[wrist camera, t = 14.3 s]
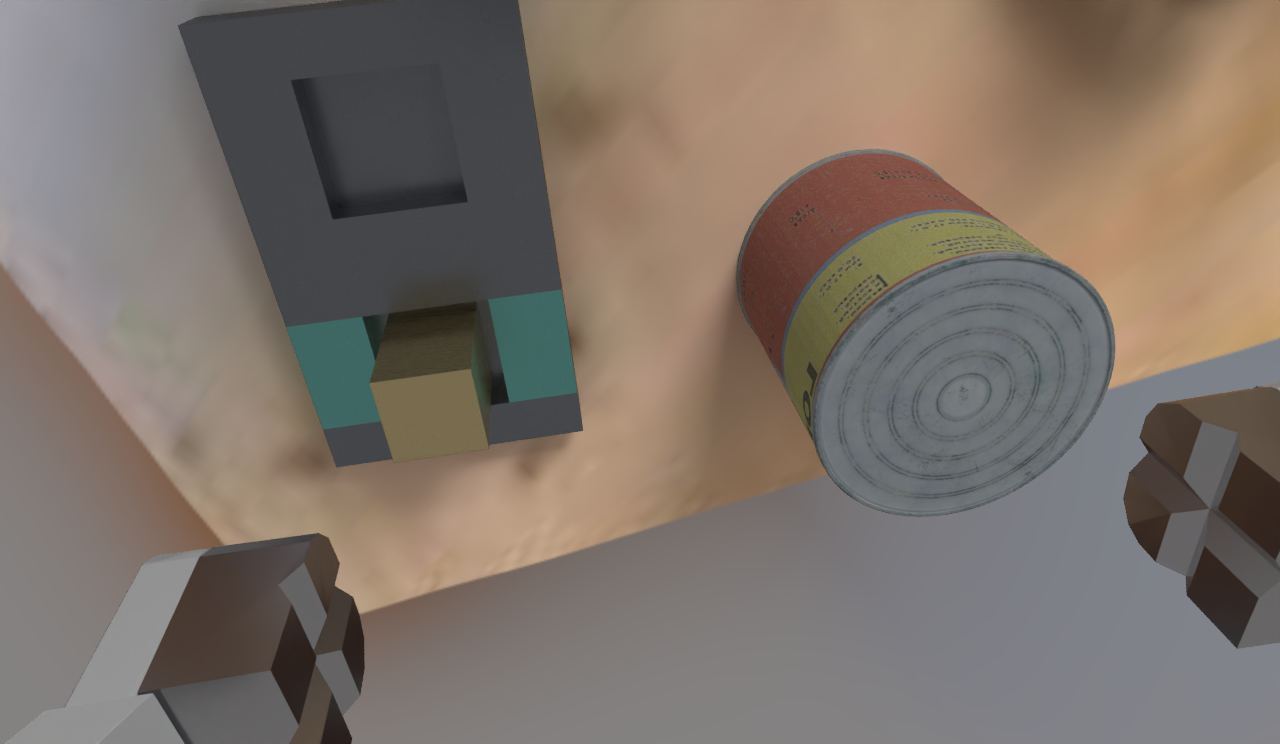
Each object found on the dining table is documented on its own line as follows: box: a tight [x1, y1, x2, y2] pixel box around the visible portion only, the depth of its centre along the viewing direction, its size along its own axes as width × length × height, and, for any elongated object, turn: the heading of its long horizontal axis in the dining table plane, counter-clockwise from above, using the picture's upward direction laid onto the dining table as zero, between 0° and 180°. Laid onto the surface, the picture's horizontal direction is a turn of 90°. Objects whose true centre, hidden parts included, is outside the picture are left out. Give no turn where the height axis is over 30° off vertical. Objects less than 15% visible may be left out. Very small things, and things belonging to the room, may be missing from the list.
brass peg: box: [369, 302, 492, 463], centre depth 36 cm, size 4×4×6 cm
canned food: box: [737, 150, 1115, 517], centre depth 35 cm, size 11×11×12 cm
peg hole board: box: [178, 0, 583, 467], centre depth 36 cm, size 20×12×2 cm, turn 5°
